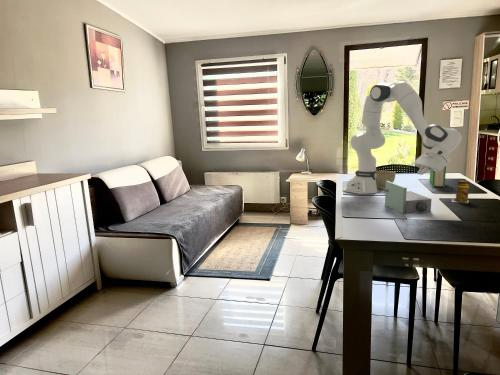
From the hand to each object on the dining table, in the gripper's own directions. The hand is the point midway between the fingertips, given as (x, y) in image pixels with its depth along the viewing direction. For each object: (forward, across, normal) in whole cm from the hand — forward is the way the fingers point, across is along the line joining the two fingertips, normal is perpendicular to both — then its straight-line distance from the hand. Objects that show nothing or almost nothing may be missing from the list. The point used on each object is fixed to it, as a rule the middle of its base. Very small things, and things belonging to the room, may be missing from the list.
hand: (419, 173), depth 201 cm
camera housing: (+17, 0, +9) cm, 20 cm away
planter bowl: (+9, -52, +18) cm, 56 cm away
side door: (+23, 0, +3) cm, 24 cm away
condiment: (-8, -6, +35) cm, 36 cm away
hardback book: (-19, -50, +46) cm, 71 cm away
